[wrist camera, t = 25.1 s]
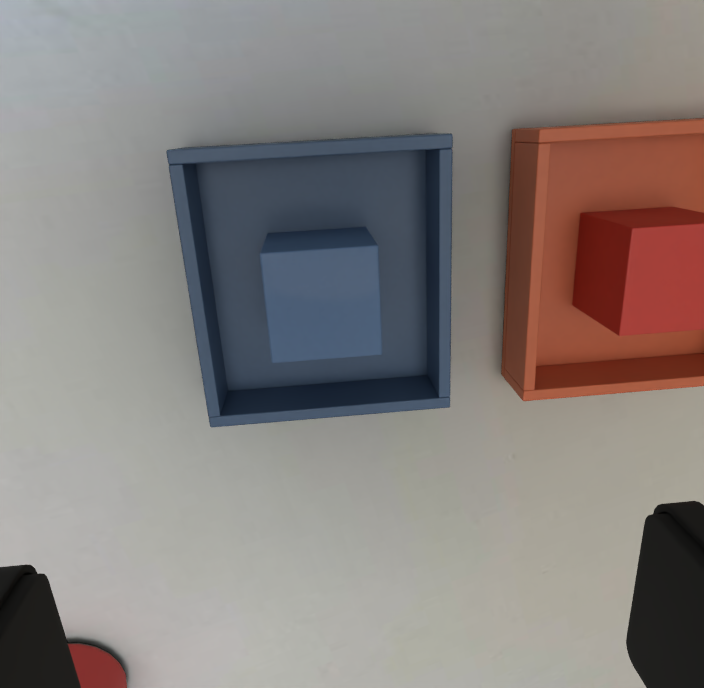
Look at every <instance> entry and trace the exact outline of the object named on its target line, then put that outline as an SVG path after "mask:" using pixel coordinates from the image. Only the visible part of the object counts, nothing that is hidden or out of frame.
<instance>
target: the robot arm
mask: <svg viewBox="0 0 704 688" xmlns="http://www.w3.org/2000/svg"><path fill="white" fill-rule="evenodd" d="M626 644H627V650H628V654H629V657H630V660H631V662H632V664H633V666H634V668H635V669H636V671H637V673H638V674H639V676H640V678H641V679H642V681H643V682H644V684H645V686H646V687H647V688H704V505H703V504H701V503H700V502H696V501H689V502H678V503H668V504H661V505H658V506H657V507H656V508H655V510H654V513H653V515H648V517H647V518H646V520H645V524H644V530H643V537H642V543H641V550H640V556H639V562H638V569H637V575H636V581H635V588H634V594H633V601H632V607H631V613H630V620H629V626H628V632H627V640H626ZM0 688H81V685H80V682H79V679H78V675H77V672H76V669H75V666H74V662H73V659H72V656H71V653H70V649H69V646H68V643H67V639H66V636H65V633H64V630H63V626H62V623H61V620H60V617H59V613H58V610H57V607H56V604H55V600H54V597H53V594H52V590H51V587H50V584H49V581H48V578H47V576H46V575H45V574H37V572H36V570H35V568H34V567H33V566H31V565H19V566H9V567H0Z"/></svg>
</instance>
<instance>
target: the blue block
mask: <svg viewBox="0 0 704 688" xmlns="http://www.w3.org/2000/svg"><path fill="white" fill-rule="evenodd" d="M260 263H261V272H262V281H263V290H264V299H265V308H266V317H267V326H268V335H269V344H270V353H271V362H272V363H281V362H294V361H307V360H319V359H332V358H345V357H358V356H370V355H381V354H382V328H381V300H380V272H379V246H378V245H377V243H376V241H375V240H374V238H373V237H372V235H371V234H370V232H369V231H368V229H367V228H366V227H354V228H338V229H323V230H308V231H293V232H278V233H267V235H266V238H265V241H264V244H263V246H262V249H261V252H260Z"/></svg>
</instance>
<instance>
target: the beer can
mask: <svg viewBox="0 0 704 688" xmlns="http://www.w3.org/2000/svg"><path fill="white" fill-rule="evenodd" d="M68 646H69V649H70V653H71V656H72V659H73V662H74V666H75V669H76V672H77V675H78V679H79V682H80V685H81V688H127V683H126V674H125V672H124V670H123V668H122V667H121V665H120V663H119V662H118V661H117V660H116V659H115V658H114V657H113V656H112V655H111V654H110V653H108V652H106V651H104V650H102V649H100V648H98V647H96V646H92V645H87V644H82V643H68Z"/></svg>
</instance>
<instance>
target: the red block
mask: <svg viewBox="0 0 704 688" xmlns="http://www.w3.org/2000/svg"><path fill="white" fill-rule="evenodd" d="M572 305H573V306H574V307H575V308H577V309H578V310H580V311H581V312H583V313H585V314H586V315H588V316H589V317H591V318H592V319H594V320H595V321H597V322H598V323H600V324H601V325H603V326H605V327H606V328H608V329H609V330H611V331H612V332H614V333H615V334H617V335H618V336H628V335H641V334H654V333H666V332H679V331H692V330H704V213H702V212H697V211H693V210H688V209H683V208H678V207H659V208H644V209H629V210H613V211H598V212H583V213H581V214H580V223H579V235H578V246H577V257H576V269H575V280H574V291H573V303H572Z"/></svg>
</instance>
